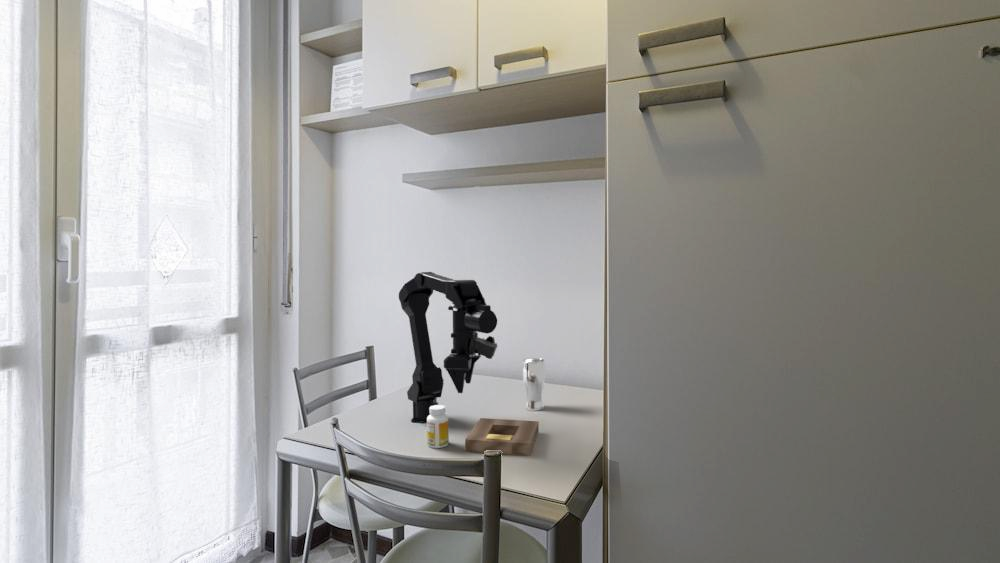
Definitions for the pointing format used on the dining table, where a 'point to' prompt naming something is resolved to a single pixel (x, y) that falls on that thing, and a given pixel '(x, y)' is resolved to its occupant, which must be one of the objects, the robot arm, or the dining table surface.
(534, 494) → the dining table surface
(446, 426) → the supplement bottle
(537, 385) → the beer glass
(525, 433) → the socket block
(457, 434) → the dining table surface
